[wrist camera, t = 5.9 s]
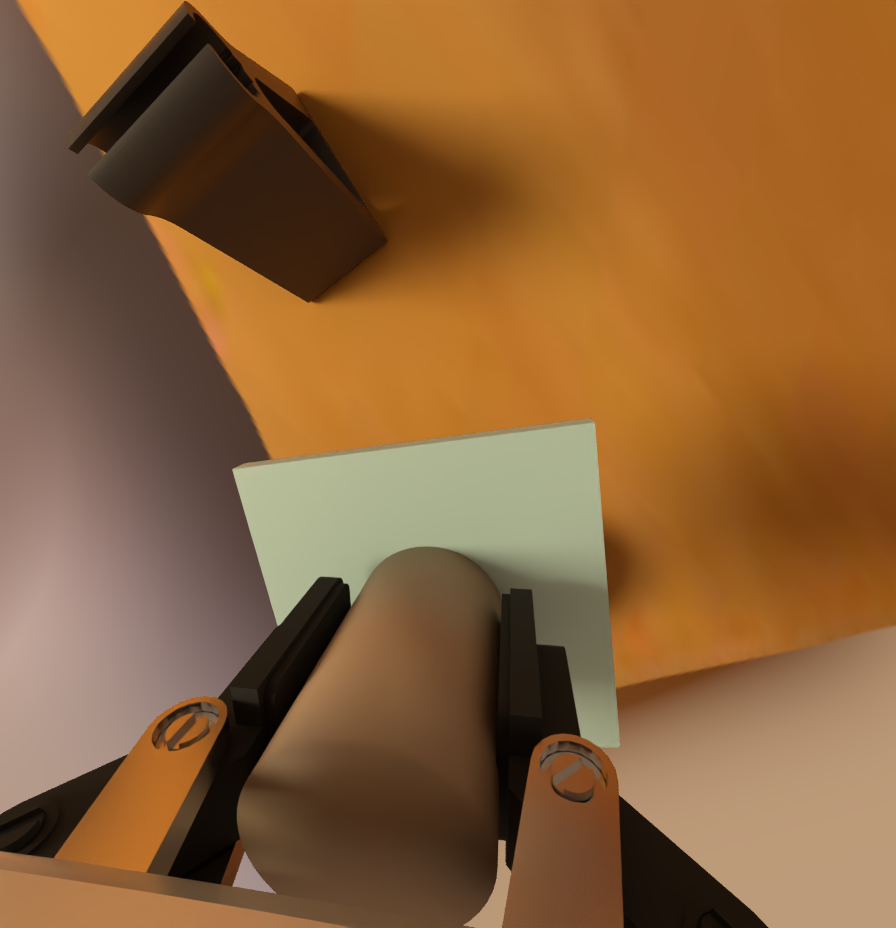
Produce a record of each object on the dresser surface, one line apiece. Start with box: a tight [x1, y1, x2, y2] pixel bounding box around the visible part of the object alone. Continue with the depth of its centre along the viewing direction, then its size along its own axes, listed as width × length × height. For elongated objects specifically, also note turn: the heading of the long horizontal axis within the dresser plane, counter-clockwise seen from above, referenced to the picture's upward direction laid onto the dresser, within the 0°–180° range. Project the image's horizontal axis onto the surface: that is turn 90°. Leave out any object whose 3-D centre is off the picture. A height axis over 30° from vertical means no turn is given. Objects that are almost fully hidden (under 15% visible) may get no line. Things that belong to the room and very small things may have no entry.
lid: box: [233, 418, 620, 925], centre depth 10 cm, size 10×10×7 cm
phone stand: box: [66, 1, 387, 303], centre depth 20 cm, size 9×6×12 cm, turn 33°
